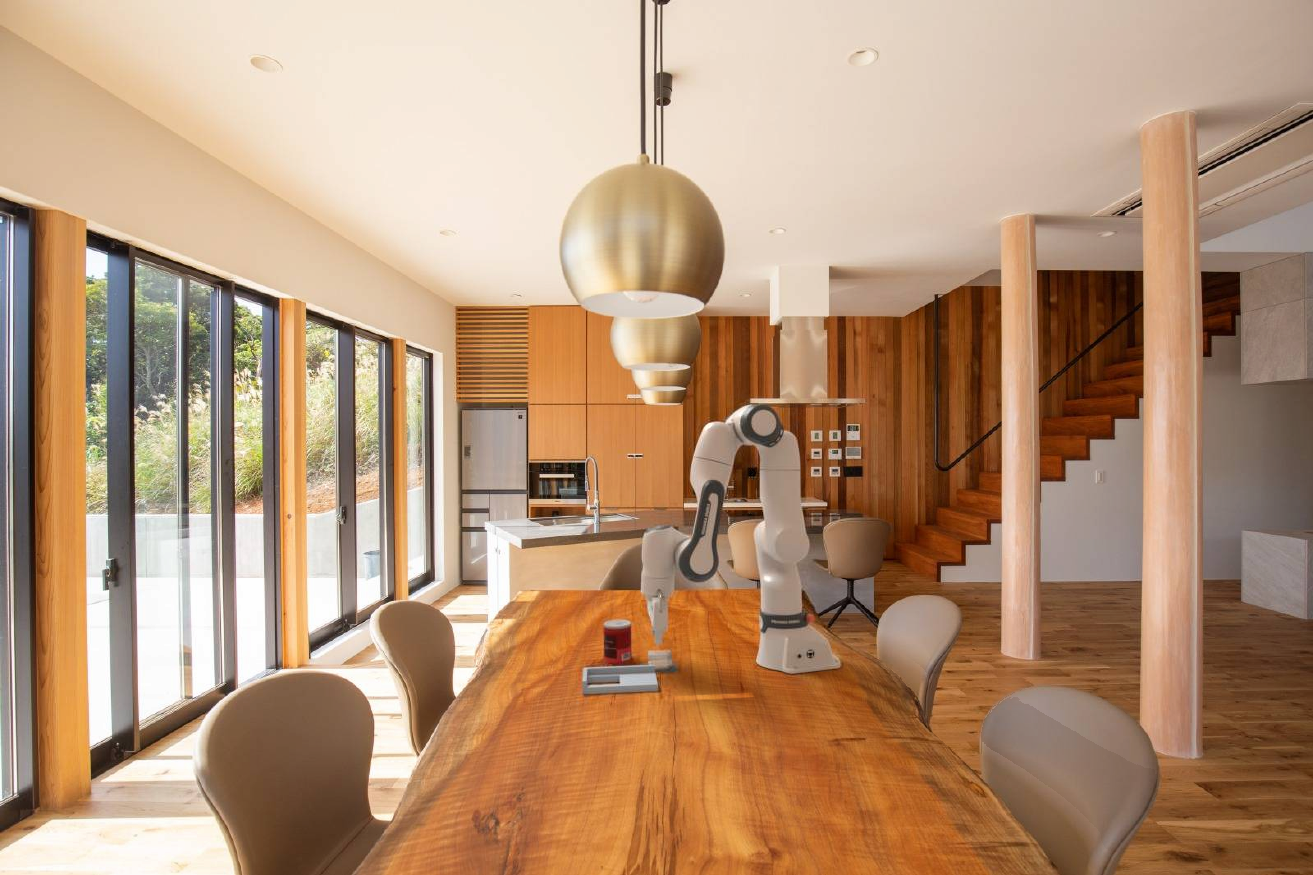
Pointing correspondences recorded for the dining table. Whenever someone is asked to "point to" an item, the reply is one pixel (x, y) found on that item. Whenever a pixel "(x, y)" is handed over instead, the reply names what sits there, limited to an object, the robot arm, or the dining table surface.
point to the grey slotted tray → (619, 679)
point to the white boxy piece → (663, 656)
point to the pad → (674, 670)
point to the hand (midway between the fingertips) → (656, 639)
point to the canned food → (617, 641)
